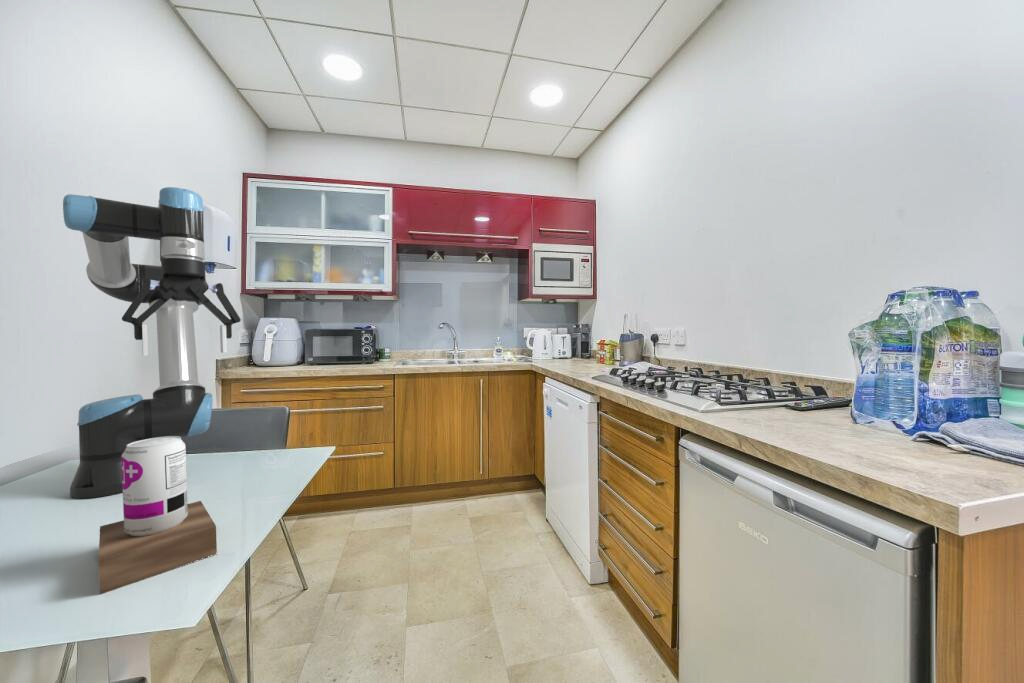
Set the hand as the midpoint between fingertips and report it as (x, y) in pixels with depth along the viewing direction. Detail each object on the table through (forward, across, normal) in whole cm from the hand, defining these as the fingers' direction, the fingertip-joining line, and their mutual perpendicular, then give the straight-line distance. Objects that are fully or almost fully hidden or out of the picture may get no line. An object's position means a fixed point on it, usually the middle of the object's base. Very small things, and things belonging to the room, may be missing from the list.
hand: (186, 354), depth 87 cm
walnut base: (+35, -7, -21) cm, 41 cm away
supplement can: (+30, -7, -21) cm, 37 cm away
